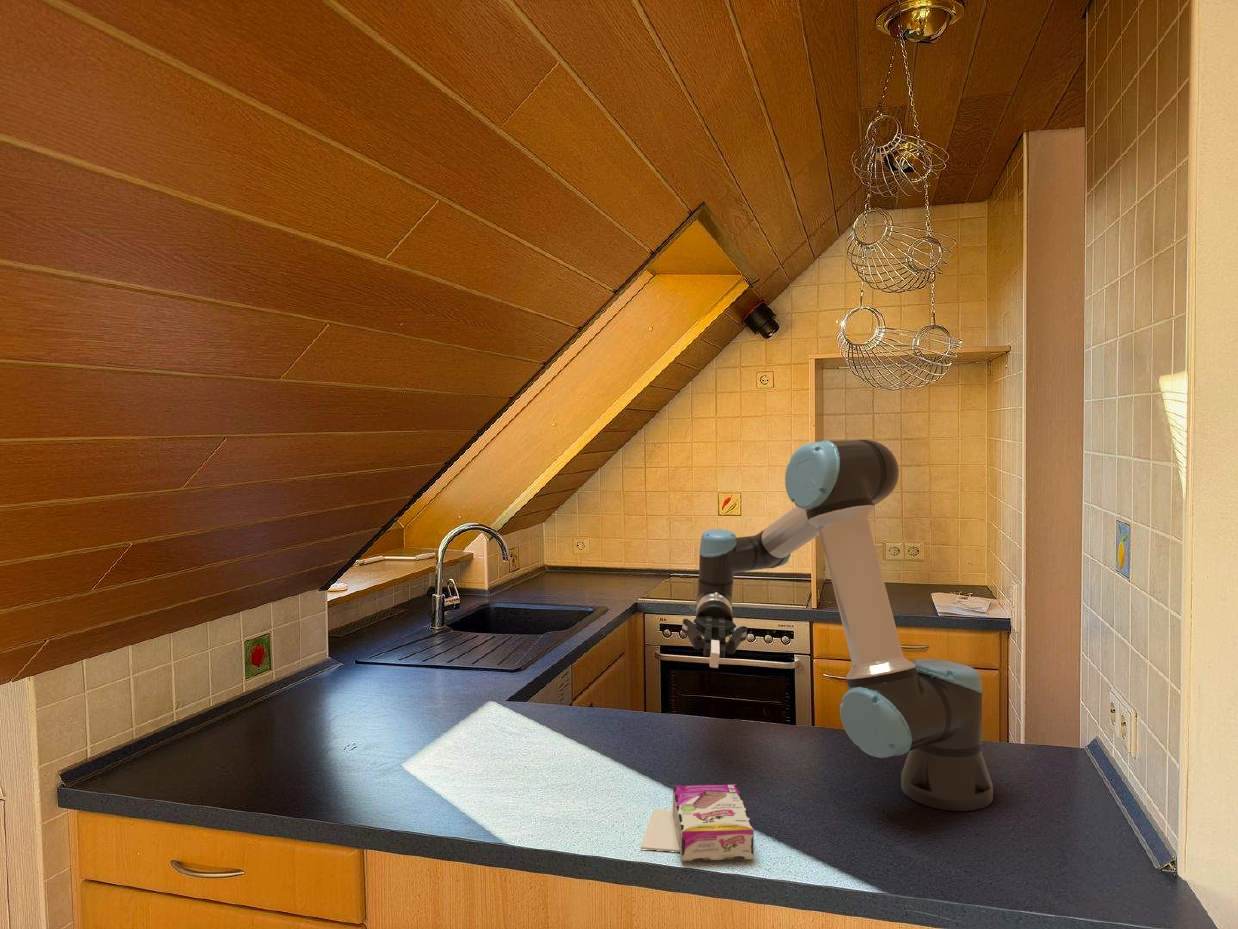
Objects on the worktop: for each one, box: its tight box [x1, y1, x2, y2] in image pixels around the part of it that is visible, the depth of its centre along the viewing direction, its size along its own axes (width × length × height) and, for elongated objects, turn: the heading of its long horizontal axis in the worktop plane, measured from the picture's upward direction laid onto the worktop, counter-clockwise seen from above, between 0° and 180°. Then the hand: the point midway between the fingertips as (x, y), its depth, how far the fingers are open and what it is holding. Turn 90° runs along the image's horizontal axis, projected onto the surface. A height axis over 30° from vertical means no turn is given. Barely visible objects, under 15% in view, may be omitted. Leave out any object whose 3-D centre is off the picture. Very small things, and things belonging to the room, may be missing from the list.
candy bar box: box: [672, 783, 755, 862], centre depth 135 cm, size 11×5×16 cm
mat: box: [640, 808, 680, 852], centre depth 136 cm, size 13×16×1 cm
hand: (714, 660), depth 150 cm, fingers closed
